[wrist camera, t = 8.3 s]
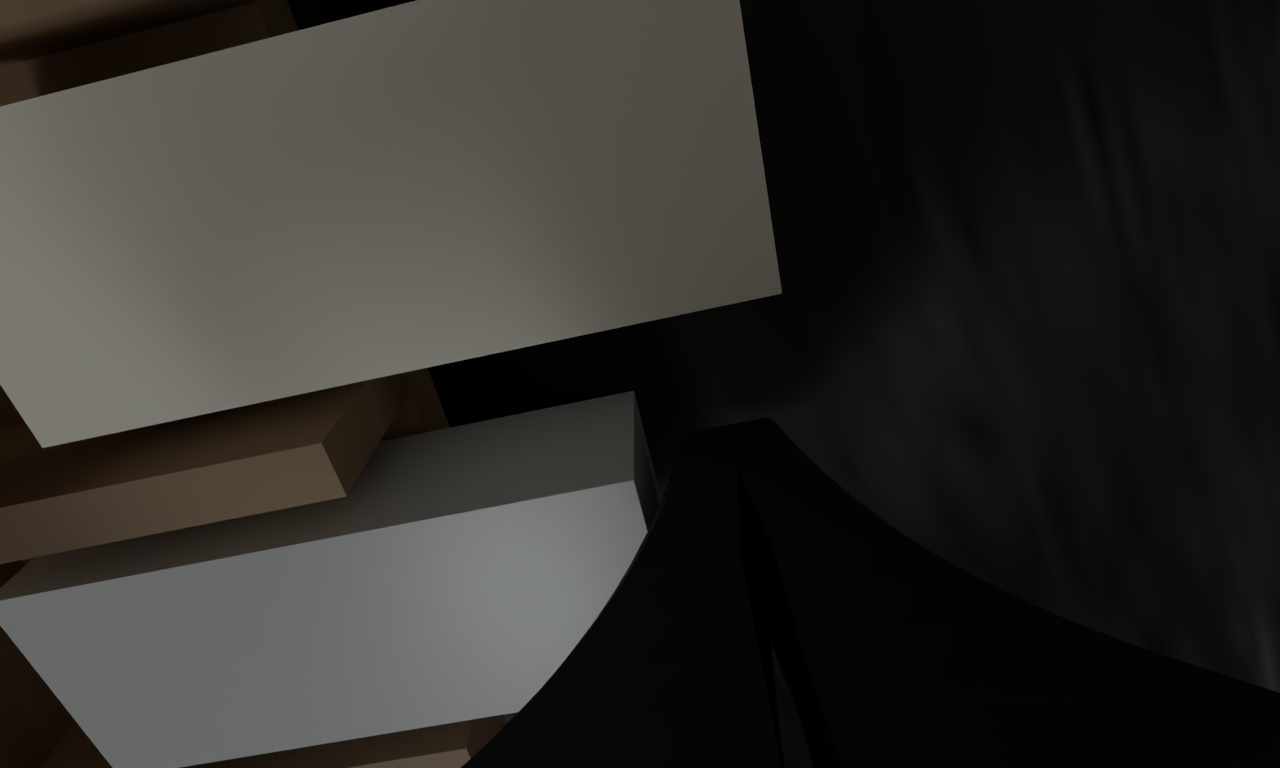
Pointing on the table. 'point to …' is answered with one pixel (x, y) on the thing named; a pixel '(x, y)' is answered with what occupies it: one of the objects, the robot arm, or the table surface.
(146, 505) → the walnut key block
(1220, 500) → the table surface
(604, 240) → the off-white rectangular box
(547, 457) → the light grey rectangular block
